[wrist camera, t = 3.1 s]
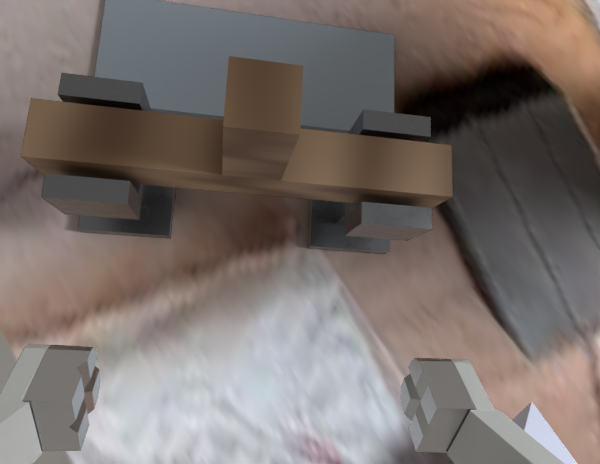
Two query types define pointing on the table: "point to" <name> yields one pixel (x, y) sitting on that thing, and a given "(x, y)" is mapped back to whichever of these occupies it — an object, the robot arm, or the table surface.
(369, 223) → the hook posts
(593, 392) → the table surface
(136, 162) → the walnut rail
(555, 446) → the white wedge
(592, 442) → the table surface
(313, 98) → the slate mat
